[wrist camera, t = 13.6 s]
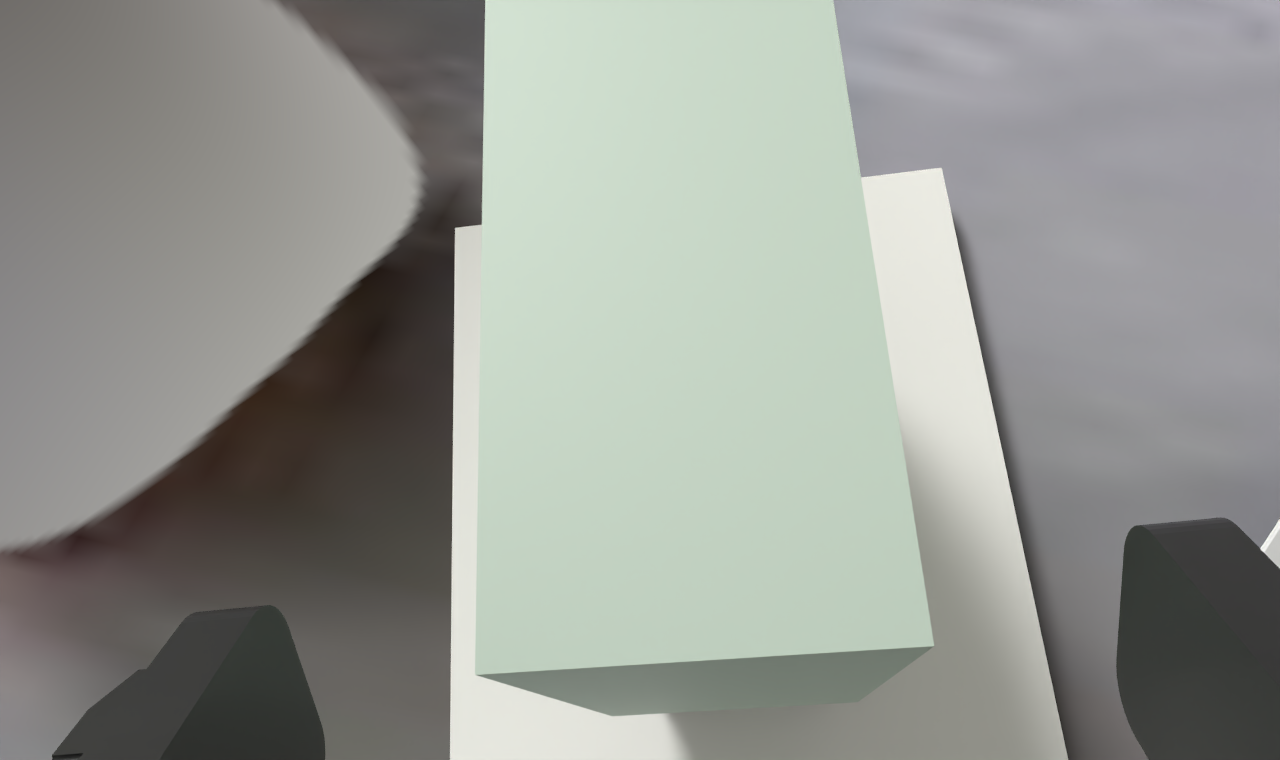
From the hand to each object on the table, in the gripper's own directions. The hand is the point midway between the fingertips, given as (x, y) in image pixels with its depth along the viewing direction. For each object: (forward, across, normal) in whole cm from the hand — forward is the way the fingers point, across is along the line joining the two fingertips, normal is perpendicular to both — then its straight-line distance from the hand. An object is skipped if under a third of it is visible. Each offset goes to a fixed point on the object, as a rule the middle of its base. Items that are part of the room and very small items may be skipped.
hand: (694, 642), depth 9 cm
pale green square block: (+12, 0, +4) cm, 12 cm away
